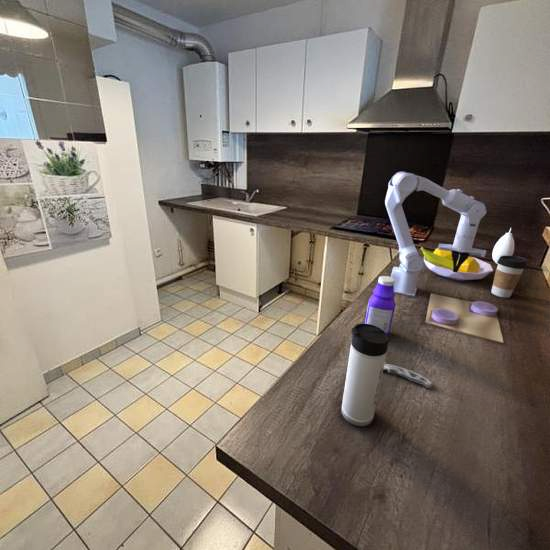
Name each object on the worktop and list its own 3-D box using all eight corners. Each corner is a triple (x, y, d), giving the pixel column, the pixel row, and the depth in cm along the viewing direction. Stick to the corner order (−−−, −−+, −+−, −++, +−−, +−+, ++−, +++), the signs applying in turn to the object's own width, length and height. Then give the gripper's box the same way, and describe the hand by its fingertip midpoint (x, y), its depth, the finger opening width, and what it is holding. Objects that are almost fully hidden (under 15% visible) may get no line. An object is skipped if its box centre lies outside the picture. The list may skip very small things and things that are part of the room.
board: (424, 323, 91) (425, 322, 90) (430, 294, 110) (430, 293, 110) (503, 344, 81) (503, 342, 81) (494, 308, 101) (494, 307, 100)
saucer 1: (430, 320, 91) (432, 315, 90) (431, 310, 97) (433, 306, 96) (457, 327, 88) (458, 321, 87) (456, 316, 94) (458, 311, 93)
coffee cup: (518, 301, 106) (534, 262, 100) (493, 298, 107) (506, 260, 102) (506, 291, 114) (520, 255, 108) (483, 289, 115) (495, 253, 109)
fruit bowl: (483, 269, 135) (491, 246, 130) (492, 292, 112) (501, 265, 108) (417, 259, 146) (422, 237, 142) (413, 277, 124) (419, 252, 120)
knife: (353, 363, 73) (357, 356, 75) (431, 390, 65) (432, 381, 67) (354, 358, 72) (357, 351, 75) (432, 384, 64) (433, 376, 67)
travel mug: (335, 402, 61) (347, 320, 54) (366, 400, 62) (381, 320, 54) (344, 428, 56) (358, 341, 48) (378, 426, 56) (397, 339, 48)
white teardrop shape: (509, 263, 142) (522, 227, 135) (507, 268, 137) (521, 230, 130) (490, 260, 147) (501, 224, 140) (487, 263, 142) (499, 227, 135)
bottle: (389, 329, 87) (400, 276, 80) (389, 340, 82) (401, 284, 75) (364, 325, 89) (372, 272, 82) (363, 335, 84) (372, 280, 77)
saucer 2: (471, 312, 97) (472, 307, 96) (470, 303, 102) (472, 299, 102) (497, 318, 93) (499, 313, 93) (495, 309, 99) (496, 304, 98)
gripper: (441, 234, 102) (432, 270, 107) (491, 241, 95) (478, 279, 100) (442, 230, 107) (433, 264, 113) (489, 236, 101) (477, 272, 106)
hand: (455, 271), depth 107 cm, fingers closed
